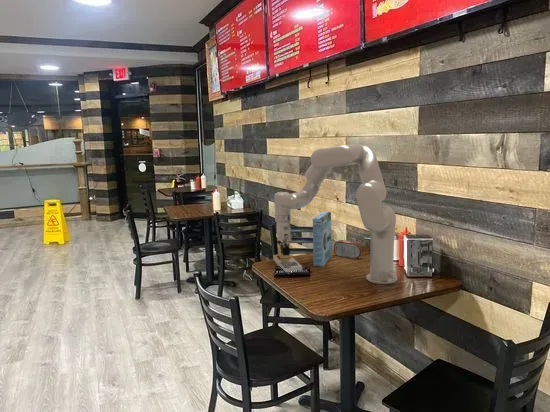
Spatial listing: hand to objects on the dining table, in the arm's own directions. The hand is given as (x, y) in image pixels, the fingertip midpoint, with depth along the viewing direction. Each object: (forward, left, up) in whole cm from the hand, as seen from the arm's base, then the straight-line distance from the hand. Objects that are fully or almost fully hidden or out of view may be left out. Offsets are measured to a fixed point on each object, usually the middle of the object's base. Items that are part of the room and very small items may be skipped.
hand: (283, 252), depth 205 cm
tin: (-1, -33, -6) cm, 33 cm away
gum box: (-3, -19, -6) cm, 20 cm away
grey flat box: (-6, 0, -5) cm, 8 cm away
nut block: (0, 0, -5) cm, 5 cm away
